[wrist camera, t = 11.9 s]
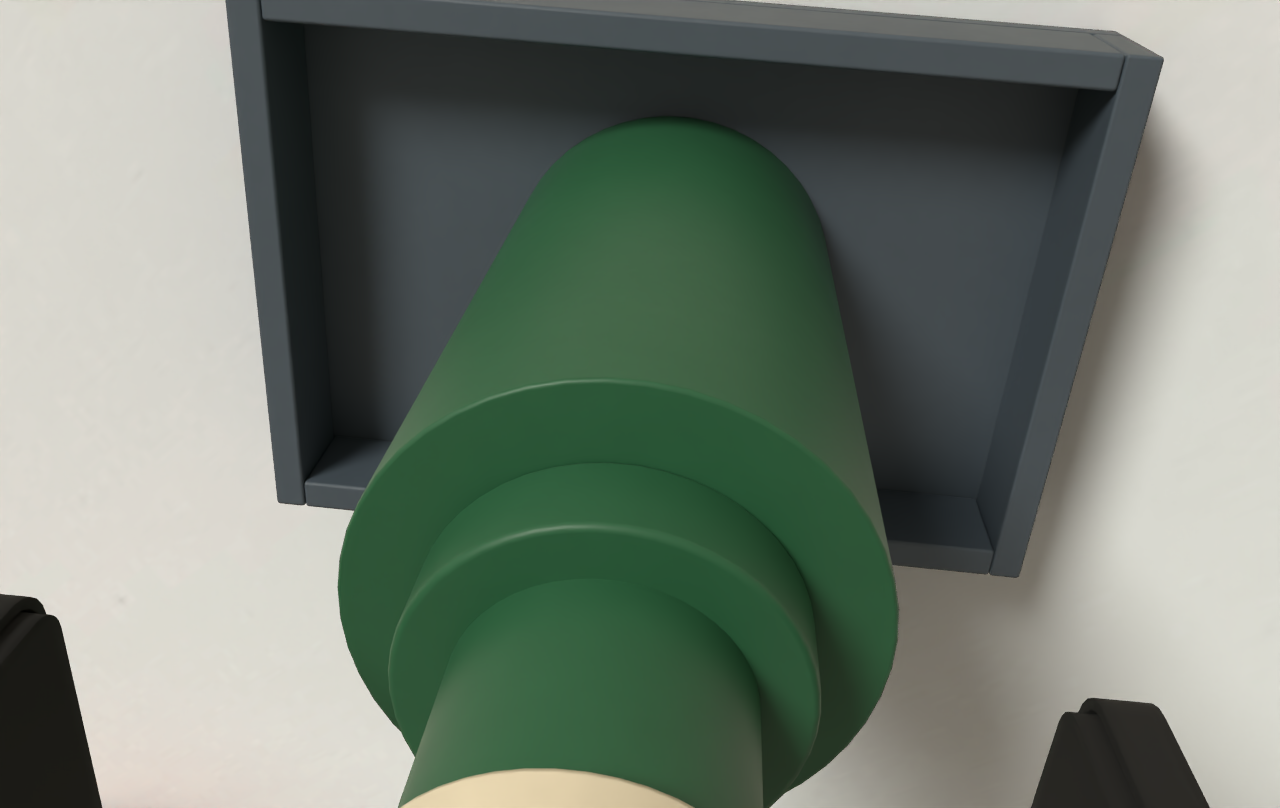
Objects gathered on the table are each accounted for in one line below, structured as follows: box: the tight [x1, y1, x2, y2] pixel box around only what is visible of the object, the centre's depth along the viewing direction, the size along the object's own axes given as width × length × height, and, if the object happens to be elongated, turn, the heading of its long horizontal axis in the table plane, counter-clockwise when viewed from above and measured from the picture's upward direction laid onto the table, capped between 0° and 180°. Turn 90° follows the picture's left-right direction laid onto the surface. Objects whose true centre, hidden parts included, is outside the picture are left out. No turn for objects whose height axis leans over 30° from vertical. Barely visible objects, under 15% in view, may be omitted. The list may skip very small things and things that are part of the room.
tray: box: [226, 0, 1164, 578], centre depth 21 cm, size 15×10×2 cm
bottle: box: [338, 116, 899, 808], centre depth 15 cm, size 6×6×16 cm
